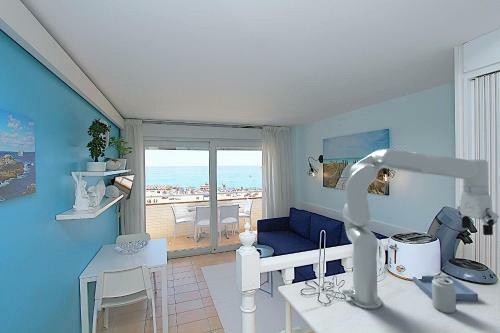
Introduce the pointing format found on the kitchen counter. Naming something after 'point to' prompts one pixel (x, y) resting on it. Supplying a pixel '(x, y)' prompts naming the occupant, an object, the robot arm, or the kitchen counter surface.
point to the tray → (461, 290)
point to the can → (443, 294)
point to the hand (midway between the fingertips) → (476, 231)
